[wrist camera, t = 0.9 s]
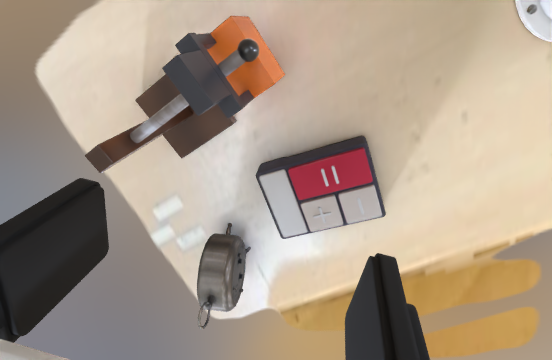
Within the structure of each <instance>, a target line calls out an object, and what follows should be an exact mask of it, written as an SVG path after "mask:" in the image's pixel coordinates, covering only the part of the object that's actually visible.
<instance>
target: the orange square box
mask: <svg viewBox="0 0 552 360" xmlns="http://www.w3.org/2000/svg"><path fill="white" fill-rule="evenodd" d="M246 38H249V39H253V40H254V41H255V42H256V43H257V44H258V46H259V55H258V57H257V58H256V59H255V60H254V61H252V62H245V63H244V64H243V65H241V66H240V67H239V68H237V69H236V70H235V71H233V72H232V73H231V74H229V75H228V76H227V77H225V75H224V74H223V73H222V71H221V70H220V68H219V67H218V64H219V63H220V62H221V61H223V60H224V59H225V58H227V57H228V56H229V55H230V54H232V53H233V52H234V51H235V50H237V47H238V44H239V43H240V42H241V41H242V40H243V39H246ZM175 46H176V47H177V49H178V50H179V51H180V53H181V54H180V55H177V56H176V57H175V58H173V59H172V60H171V61H170V62H169V63H168V64H166V65H165V66H164V67H163V68H162V69H163V70H164V72H165V73H166V74H167V76H168V77H169V78H170V80H171V81H172V82H173V84H174V85H175V86H176V88H177V89H178V90H179V92H180V93H181V94H182V96H183V97H184V98H185V100H186V101H187V102H188V104H189V105H190V106H191V108H192V109H193V110H194V112H195V113H196V114H197V116H199V115H201V114H202V113H204V112H205V111H207V110H209V109H210V108H212V107H213V106H215V105H216V104H218V106H219V107H220V109H221V110H222V111H223V113H224V114H225V116H226V117H227V118H230V117H231V116H233V115H234V114H236V113H237V112H238V111H240V110H241V109H243V108H244V107H245V106H246V105H247V104H248V103H249V102H250V101H251V100H253V99H254V98H255V97H257V96H258V95H259V94H261V93H262V92H264V91H265V90H267V89H268V88H270V87H271V86H272V85H274V84H275V83H276V82H277V81H278V80H280V79H281V78H282V77H283V76H284V75H285V74H284V72H283V70H282V69H281V67H280V66H279V64H278V63H277V61H276V59H275V58H274V56H273V55H272V53H271V51H270V50H269V48H268V47H267V45H266V44H265V42H264V40H263V39H262V37H261V36H260V34H259V32H258V31H257V29H256V28H255V26H254V25H253V23H252V21H251V20H250V18H249V17H243V16H230V17H229V18H228V19H227V20H225V21H224V22H223V23H222V24H221V25H220V26H218V27H217V28H216V29H215V30H214V31H213V32H211V33H208V34H197V35H196V33H188V34H187V35H186V36H185V37H184V38H183V39H181V40H180V41H179V42H178V43H177V44H176V45H175Z"/></svg>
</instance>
